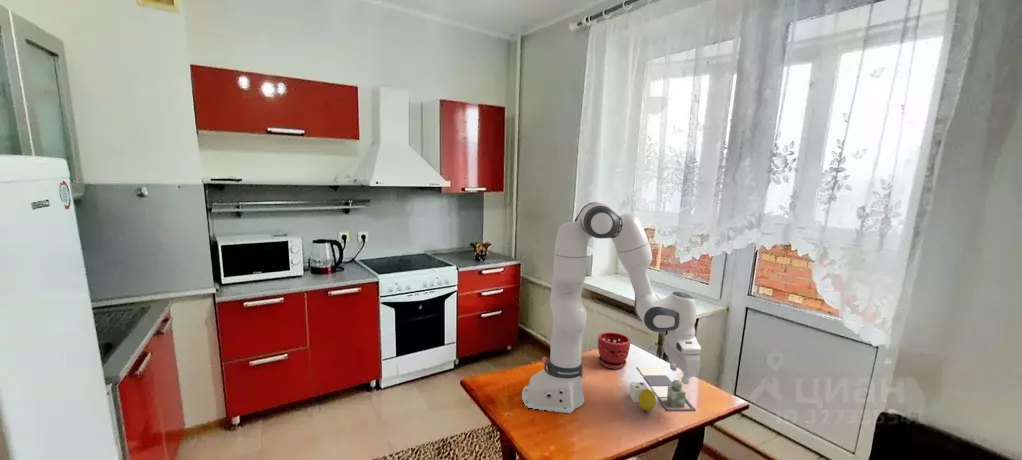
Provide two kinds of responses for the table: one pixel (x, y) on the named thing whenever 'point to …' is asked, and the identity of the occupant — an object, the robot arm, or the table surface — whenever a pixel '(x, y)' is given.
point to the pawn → (676, 394)
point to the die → (636, 390)
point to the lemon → (647, 400)
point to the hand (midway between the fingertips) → (678, 376)
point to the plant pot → (613, 350)
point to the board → (660, 384)
